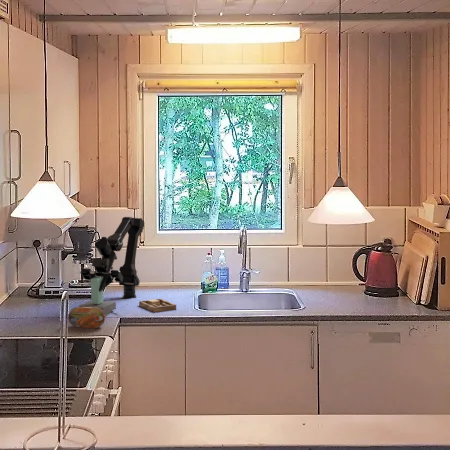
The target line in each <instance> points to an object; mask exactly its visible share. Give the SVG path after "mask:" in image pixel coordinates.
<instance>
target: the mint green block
mask: <svg viewBox="0 0 450 450" xmlns="http://www.w3.org/2000/svg"><path fill="white" fill-rule="evenodd" d="M102 280H103V277H95V278H92V279H91V280H90V288H91V289H90V290H91V291H90V293H91V297H90V299H91V300H90V301H91V304H100V303H102V302H103V301H104V289H103V290H102V291H101V292H99V288H100V285H101V283H102Z"/></svg>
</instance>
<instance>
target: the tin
mask: <svg viewBox="0 0 450 450" xmlns="http://www.w3.org/2000/svg"><path fill="white" fill-rule="evenodd" d="M68 321H69V324H70V325H71V326H73V327H74V328H77V327H82V328H81V329H98V328H100V327H101V326H103V325H104V324H105V321H106V316H105V313H104V311H103V310H102V309H100V308H98V307H79V306H77V307H74V308H72V309H71V310H70V311H69V313H68Z"/></svg>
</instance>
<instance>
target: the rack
mask: <svg viewBox="0 0 450 450" xmlns="http://www.w3.org/2000/svg"><path fill="white" fill-rule="evenodd" d="M149 300H150V299H147V300H140V301H139V302H138V304H139V305H138V306H139V307H141V308H143V309H146V310H148V311H151V312H152V313H160V312H165V311H167V312H168V311H174V310H177V304H176V303H173V302H170V301H168V300H164V299H163V298H156V299H153V300H159V301H160V306H157V305H155V304H153V306H151V305H149V304H148V301H149Z"/></svg>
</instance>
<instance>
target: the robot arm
mask: <svg viewBox="0 0 450 450" xmlns="http://www.w3.org/2000/svg"><path fill="white" fill-rule="evenodd" d="M144 228H145V220H143V218H141V217H132V216H124V217H122V219H121V222H120V224H119V225H118V227H117V228H116V230H115V231H114V233H113V234H111V235H109V236H108V237H107V236H101V238H99V239H98V240H97V241H95V244H94V246H95V248H96V251H98V253H99V255H100V256H101V258H92V263H91V266H92V267H94V270H92V269H91V268H87V267H85V268H84V267H83V268H81V270H80V274H81V276H82V278H83V279H84V280H85V281H91V279H92V278H95V277H103V280H102V283H101V285H100V288H99V292H101V291H102V290H103V291H104V289H105V288H107V287H108V286H109V285H110V284H112V283H114V281H115V282H116V283H118V284H119V286H123V287H122V290H123V294H122V300H124V299H125V300H127V299H128V300H129V299H137V294H136V287H138V286H140V281H141V280H140V279H139V276H138V271H137V269H136V267H135V263H136V256H137V248H138V241H139V237H140V235H141V234H142V233H143V231H144ZM127 234H128V236H127ZM126 236H127V244H126V250H125V258H124V264H123V265H122V266H120V267H119V269H114V267H113V265H114V262H115V260H117V259H118V256H117V254H116V252H121V250H122V248H123V246H124V243H123V240H124V239H125V237H126Z"/></svg>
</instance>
